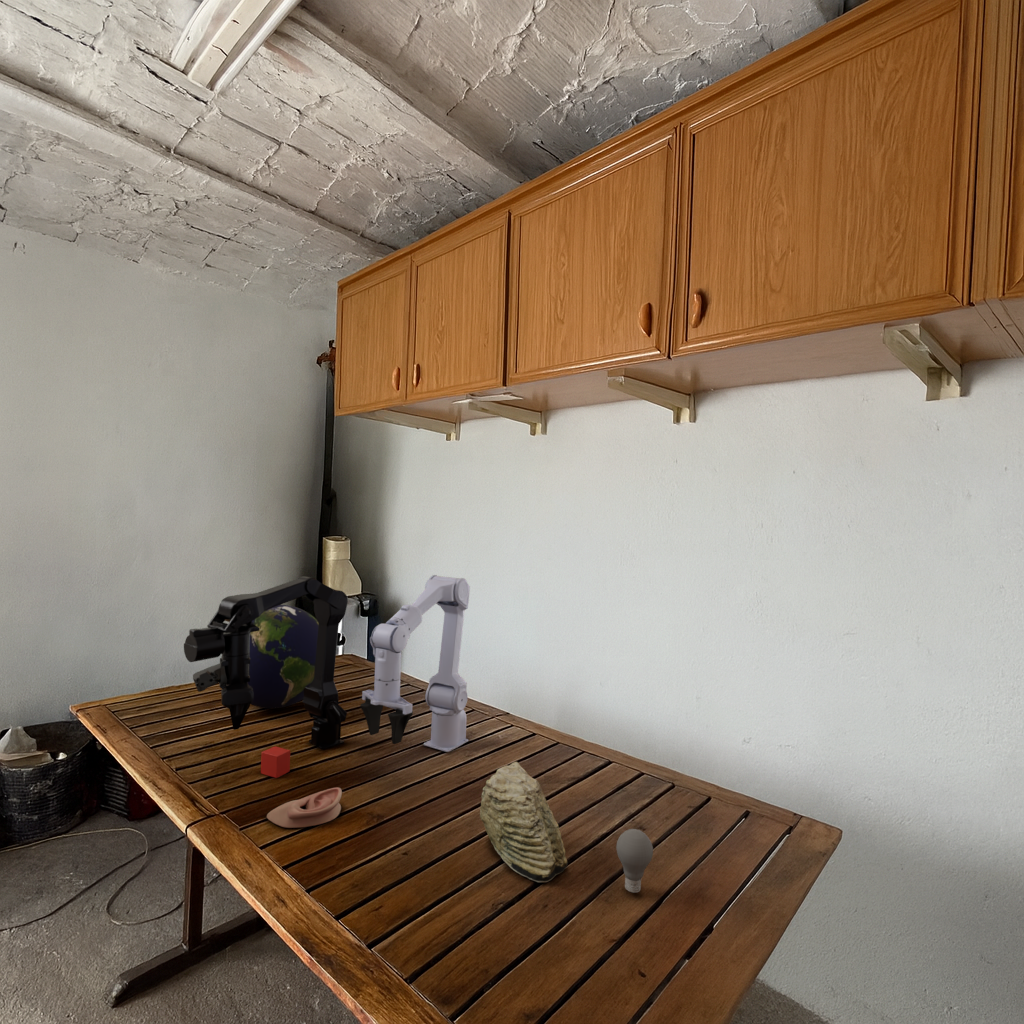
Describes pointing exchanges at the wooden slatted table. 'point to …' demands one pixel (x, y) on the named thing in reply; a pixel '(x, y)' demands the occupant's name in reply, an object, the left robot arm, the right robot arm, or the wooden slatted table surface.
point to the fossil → (522, 824)
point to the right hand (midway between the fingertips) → (385, 738)
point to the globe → (282, 656)
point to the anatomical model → (308, 810)
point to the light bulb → (634, 857)
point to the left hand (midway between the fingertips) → (234, 722)
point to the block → (275, 762)
